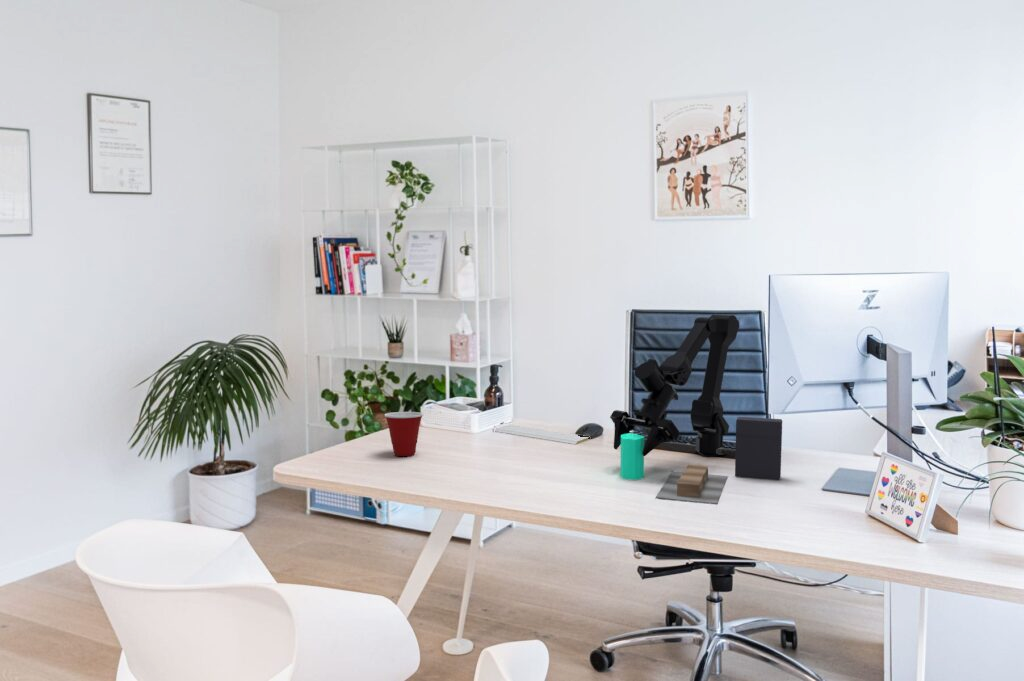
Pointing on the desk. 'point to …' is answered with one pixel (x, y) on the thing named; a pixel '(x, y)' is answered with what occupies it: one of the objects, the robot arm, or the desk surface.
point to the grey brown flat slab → (693, 485)
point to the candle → (632, 456)
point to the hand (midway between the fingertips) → (628, 451)
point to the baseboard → (541, 434)
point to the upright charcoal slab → (758, 448)
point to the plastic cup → (404, 431)
